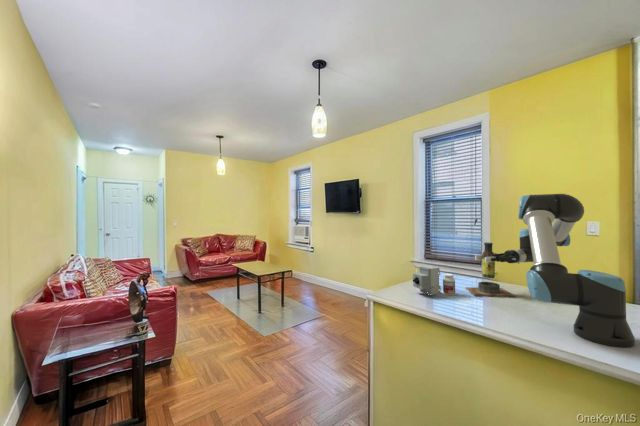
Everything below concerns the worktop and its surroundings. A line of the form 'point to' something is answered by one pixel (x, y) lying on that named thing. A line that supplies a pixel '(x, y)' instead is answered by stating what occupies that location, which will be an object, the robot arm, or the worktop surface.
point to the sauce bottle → (488, 267)
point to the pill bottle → (449, 284)
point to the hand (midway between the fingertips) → (480, 258)
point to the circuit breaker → (427, 279)
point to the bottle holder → (489, 290)
